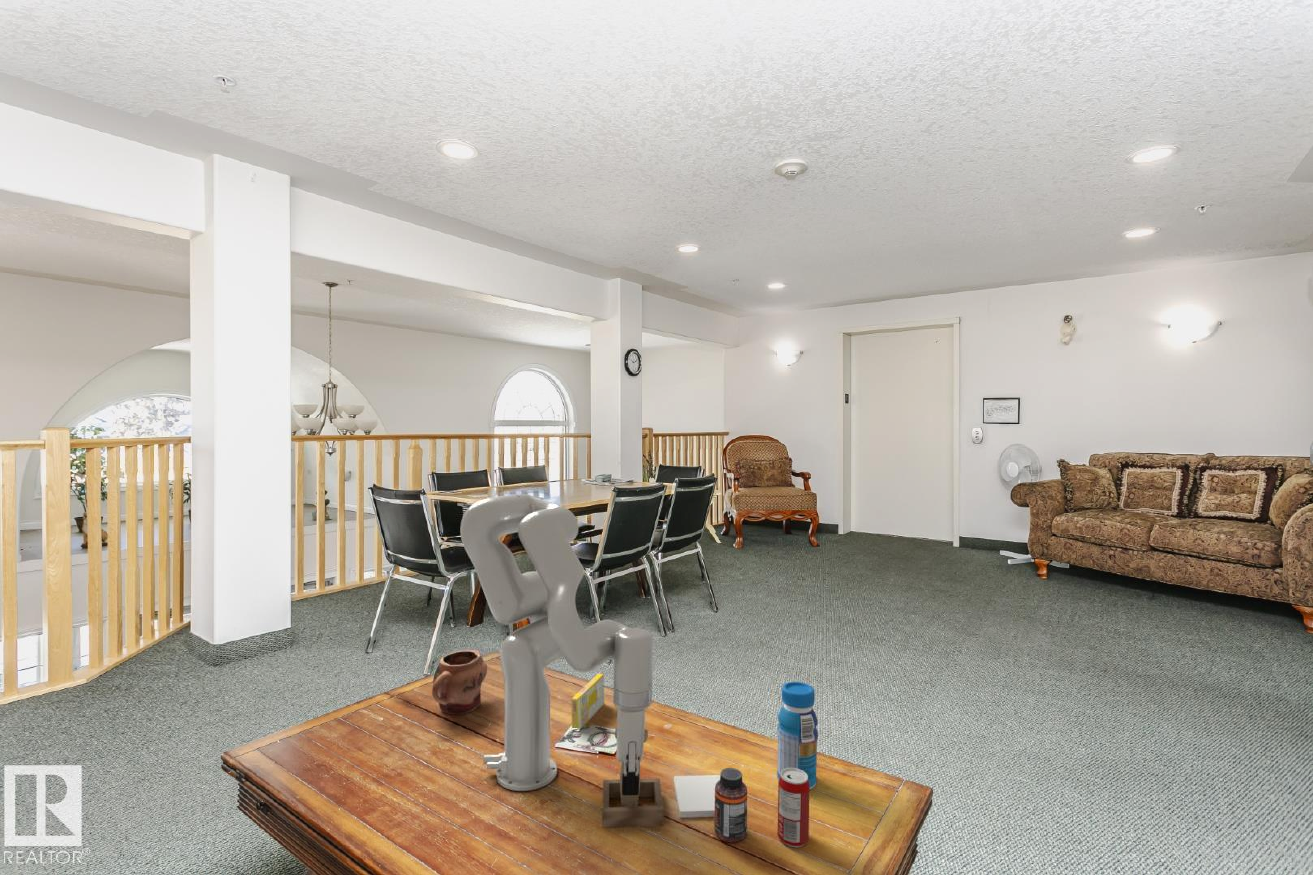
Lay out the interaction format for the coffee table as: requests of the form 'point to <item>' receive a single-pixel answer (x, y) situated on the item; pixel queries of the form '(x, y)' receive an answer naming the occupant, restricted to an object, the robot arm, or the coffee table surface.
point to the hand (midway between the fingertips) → (629, 786)
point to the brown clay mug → (459, 681)
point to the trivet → (696, 795)
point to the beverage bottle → (798, 730)
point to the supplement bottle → (730, 806)
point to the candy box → (587, 701)
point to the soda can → (793, 807)
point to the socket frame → (633, 814)
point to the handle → (625, 799)
